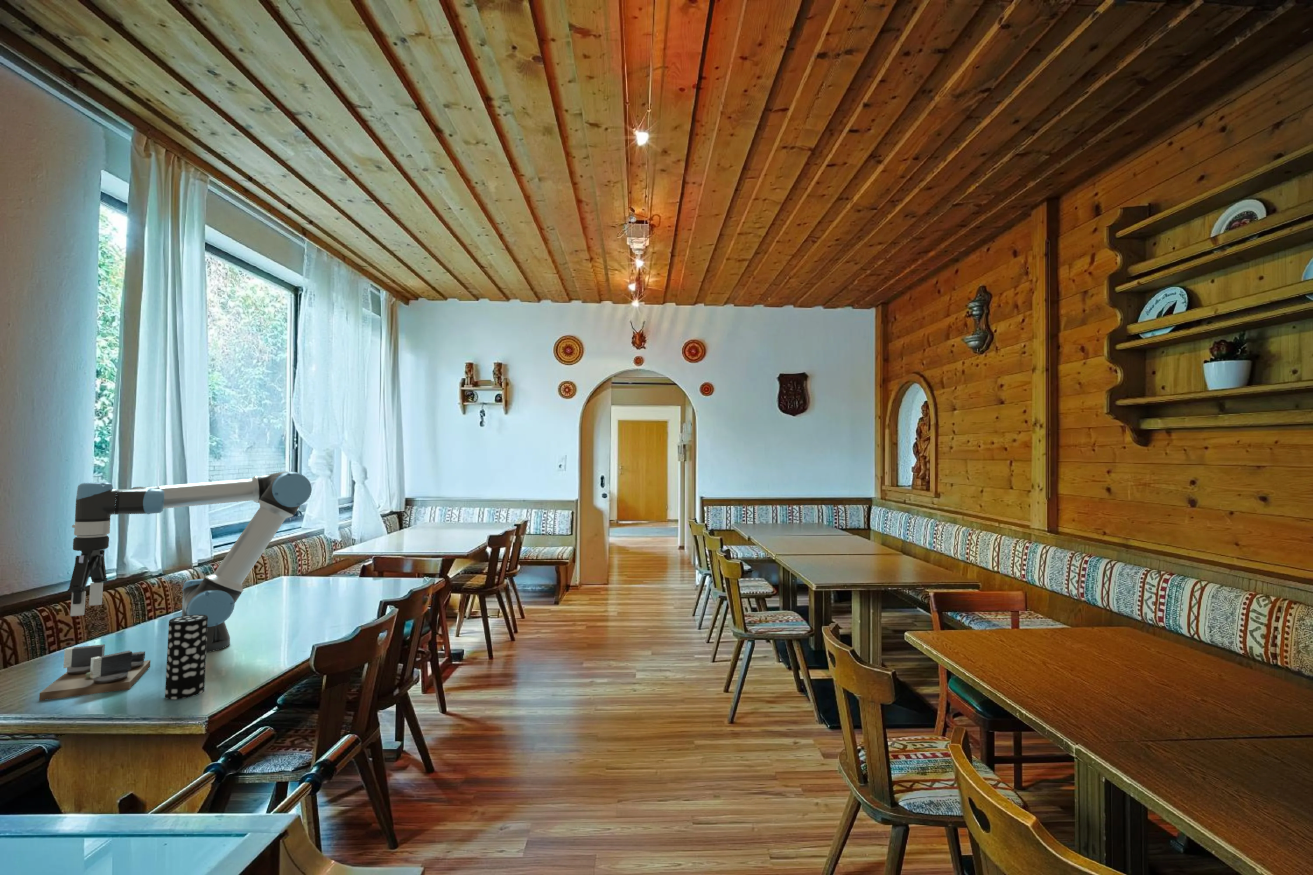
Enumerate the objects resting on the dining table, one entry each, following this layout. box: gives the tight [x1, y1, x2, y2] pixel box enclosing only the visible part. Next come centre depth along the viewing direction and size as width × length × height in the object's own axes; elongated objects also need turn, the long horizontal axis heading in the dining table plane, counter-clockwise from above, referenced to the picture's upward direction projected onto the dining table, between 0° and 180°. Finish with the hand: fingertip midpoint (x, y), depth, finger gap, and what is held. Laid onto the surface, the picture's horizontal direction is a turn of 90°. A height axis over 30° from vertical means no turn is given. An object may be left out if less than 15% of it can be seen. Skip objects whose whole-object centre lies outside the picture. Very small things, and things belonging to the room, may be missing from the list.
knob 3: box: [131, 650, 146, 669], centre depth 173 cm, size 7×7×4 cm
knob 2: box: [90, 650, 133, 683], centre depth 163 cm, size 8×7×7 cm
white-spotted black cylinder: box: [164, 615, 208, 700], centre depth 160 cm, size 8×8×20 cm
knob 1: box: [63, 644, 106, 674], centre depth 170 cm, size 8×7×6 cm
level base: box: [38, 659, 152, 701], centre depth 167 cm, size 18×20×3 cm
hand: (86, 610), depth 170 cm, fingers open, 13 cm apart
